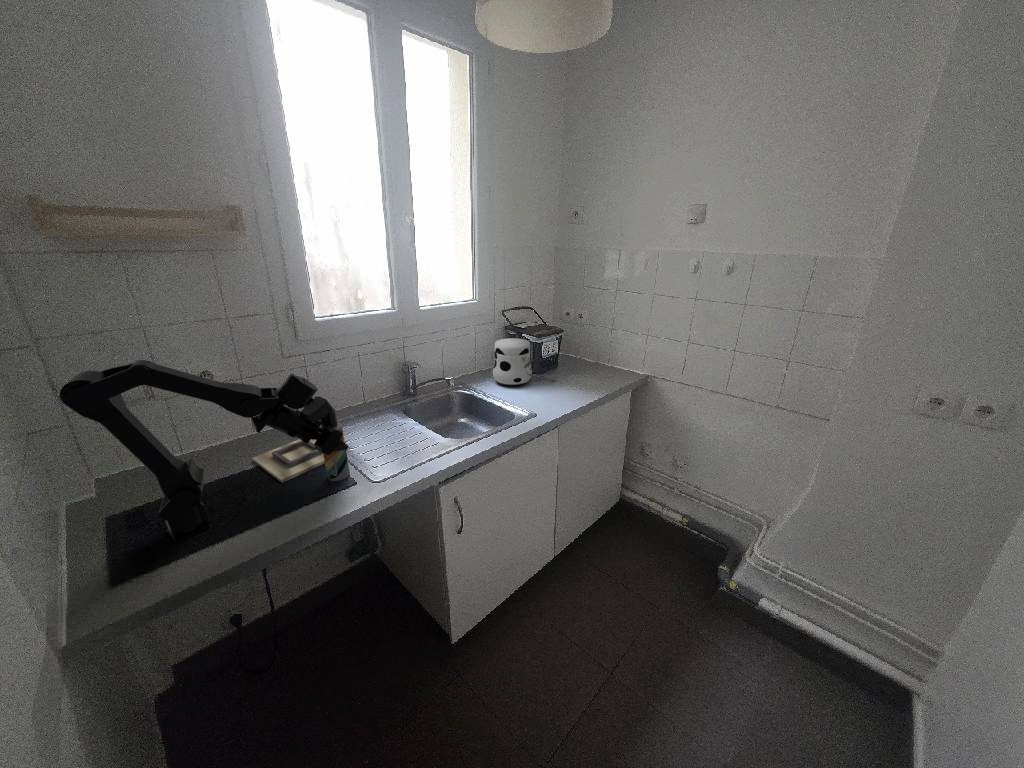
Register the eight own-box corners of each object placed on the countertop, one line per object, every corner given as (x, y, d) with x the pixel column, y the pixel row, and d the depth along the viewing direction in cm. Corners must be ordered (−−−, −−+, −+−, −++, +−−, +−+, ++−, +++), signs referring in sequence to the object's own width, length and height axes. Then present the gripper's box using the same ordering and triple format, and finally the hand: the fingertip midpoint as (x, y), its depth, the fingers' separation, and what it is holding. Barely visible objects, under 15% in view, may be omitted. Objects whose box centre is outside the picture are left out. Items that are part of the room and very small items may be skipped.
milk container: (539, 384, 175) (540, 344, 168) (504, 391, 166) (504, 350, 160) (518, 372, 188) (519, 335, 182) (486, 379, 180) (485, 340, 174)
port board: (282, 482, 106) (280, 475, 105) (252, 461, 116) (250, 453, 115) (343, 454, 120) (342, 447, 119) (312, 437, 130) (311, 430, 129)
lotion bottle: (326, 483, 106) (313, 415, 99) (329, 471, 111) (317, 406, 104) (349, 479, 108) (337, 413, 100) (351, 468, 113) (340, 404, 106)
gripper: (328, 401, 92) (374, 426, 104) (288, 383, 102) (335, 408, 114) (301, 444, 89) (352, 465, 101) (263, 422, 99) (313, 443, 111)
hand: (338, 443), depth 107 cm, fingers open, 8 cm apart
